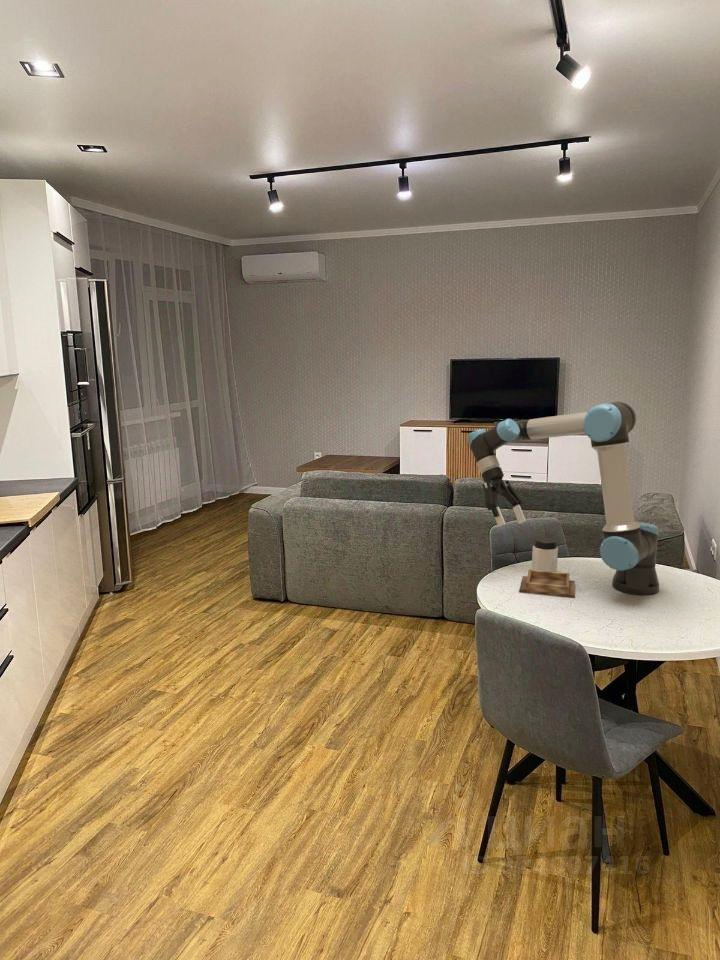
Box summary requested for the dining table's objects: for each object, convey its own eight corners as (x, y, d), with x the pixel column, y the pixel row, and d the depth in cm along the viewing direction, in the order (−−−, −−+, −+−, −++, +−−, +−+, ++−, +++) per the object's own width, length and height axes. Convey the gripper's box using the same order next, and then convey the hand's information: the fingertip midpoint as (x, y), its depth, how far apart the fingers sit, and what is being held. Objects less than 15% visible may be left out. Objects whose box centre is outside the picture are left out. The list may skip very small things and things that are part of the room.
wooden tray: (574, 583, 251) (575, 574, 250) (574, 597, 237) (575, 587, 236) (522, 578, 256) (522, 569, 255) (519, 592, 242) (519, 582, 241)
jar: (547, 576, 258) (549, 544, 256) (527, 571, 264) (529, 539, 262) (560, 571, 264) (562, 539, 262) (540, 566, 270) (542, 535, 268)
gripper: (501, 473, 273) (522, 525, 267) (462, 475, 255) (484, 530, 249) (517, 465, 268) (538, 517, 262) (478, 466, 250) (501, 522, 244)
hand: (512, 524), depth 255 cm, fingers open, 13 cm apart
